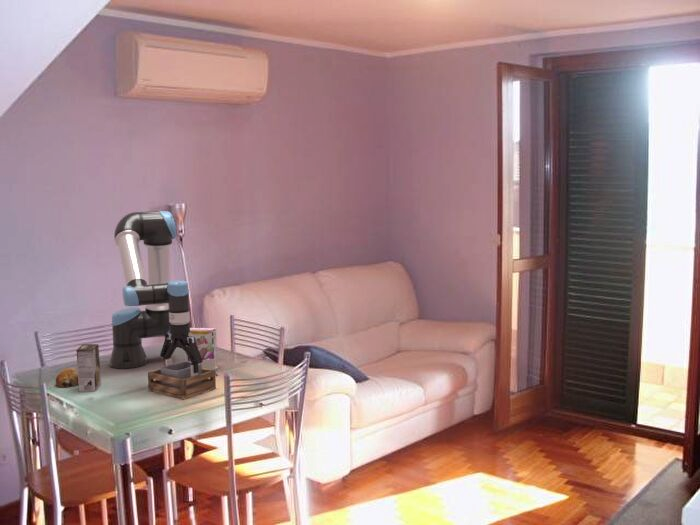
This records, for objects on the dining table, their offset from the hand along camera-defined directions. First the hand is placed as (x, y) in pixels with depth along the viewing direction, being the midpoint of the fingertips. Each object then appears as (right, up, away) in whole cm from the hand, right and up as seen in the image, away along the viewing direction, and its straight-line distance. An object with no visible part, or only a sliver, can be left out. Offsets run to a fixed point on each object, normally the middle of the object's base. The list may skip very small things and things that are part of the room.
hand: (181, 378), depth 293 cm
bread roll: (-46, -4, +10) cm, 47 cm away
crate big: (0, -4, +1) cm, 4 cm away
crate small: (0, -3, 0) cm, 3 cm away
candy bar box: (+2, 0, +31) cm, 31 cm away
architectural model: (+6, -2, +18) cm, 20 cm away
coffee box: (-36, -4, +4) cm, 36 cm away
